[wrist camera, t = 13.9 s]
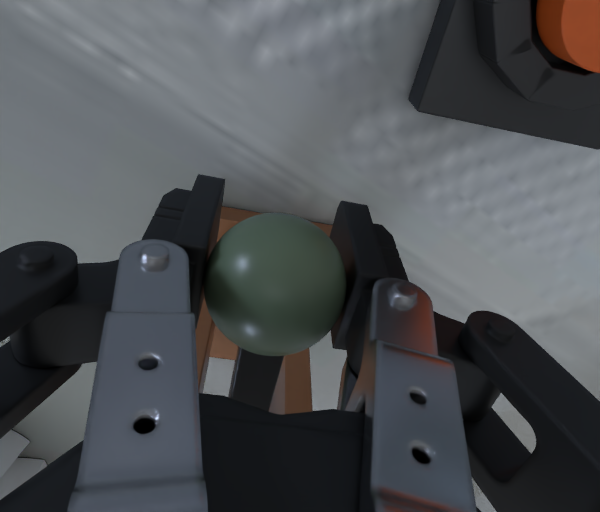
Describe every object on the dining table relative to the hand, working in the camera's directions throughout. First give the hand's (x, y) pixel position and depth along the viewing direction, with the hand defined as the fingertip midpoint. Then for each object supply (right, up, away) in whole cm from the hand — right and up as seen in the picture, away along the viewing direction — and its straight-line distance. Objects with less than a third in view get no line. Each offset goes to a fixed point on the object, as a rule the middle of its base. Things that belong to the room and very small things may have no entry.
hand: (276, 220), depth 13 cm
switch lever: (-1, -4, +1) cm, 4 cm away
